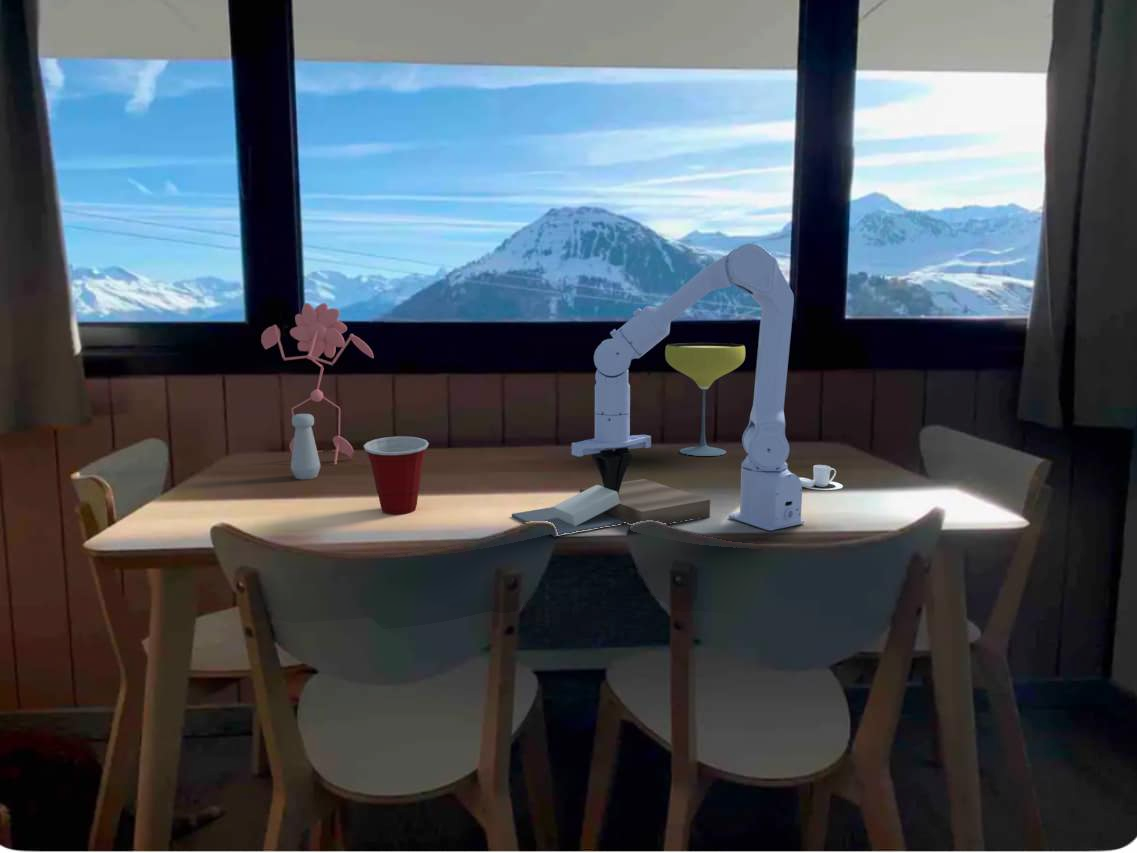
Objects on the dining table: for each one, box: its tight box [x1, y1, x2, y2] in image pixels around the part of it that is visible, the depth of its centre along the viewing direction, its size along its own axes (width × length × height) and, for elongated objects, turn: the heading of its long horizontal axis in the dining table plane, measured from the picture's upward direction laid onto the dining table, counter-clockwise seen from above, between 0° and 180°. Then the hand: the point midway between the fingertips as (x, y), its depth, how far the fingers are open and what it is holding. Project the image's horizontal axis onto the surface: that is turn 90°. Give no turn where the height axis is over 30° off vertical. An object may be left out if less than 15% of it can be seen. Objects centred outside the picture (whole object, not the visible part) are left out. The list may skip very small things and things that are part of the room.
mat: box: [511, 506, 625, 535], centre depth 132 cm, size 14×13×1 cm
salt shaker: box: [290, 413, 321, 481], centre depth 163 cm, size 6×6×13 cm
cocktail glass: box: [664, 342, 746, 457], centre depth 186 cm, size 18×18×25 cm
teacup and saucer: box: [798, 464, 844, 491], centre depth 155 cm, size 9×8×4 cm
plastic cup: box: [363, 436, 430, 515], centre depth 137 cm, size 11×11×12 cm
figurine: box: [260, 302, 375, 466], centre depth 180 cm, size 15×26×35 cm, turn 84°
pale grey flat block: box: [552, 484, 620, 526], centre depth 131 cm, size 9×6×2 cm, turn 122°
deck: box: [579, 478, 711, 524], centre depth 137 cm, size 18×14×3 cm
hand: (611, 494), depth 133 cm, fingers closed
